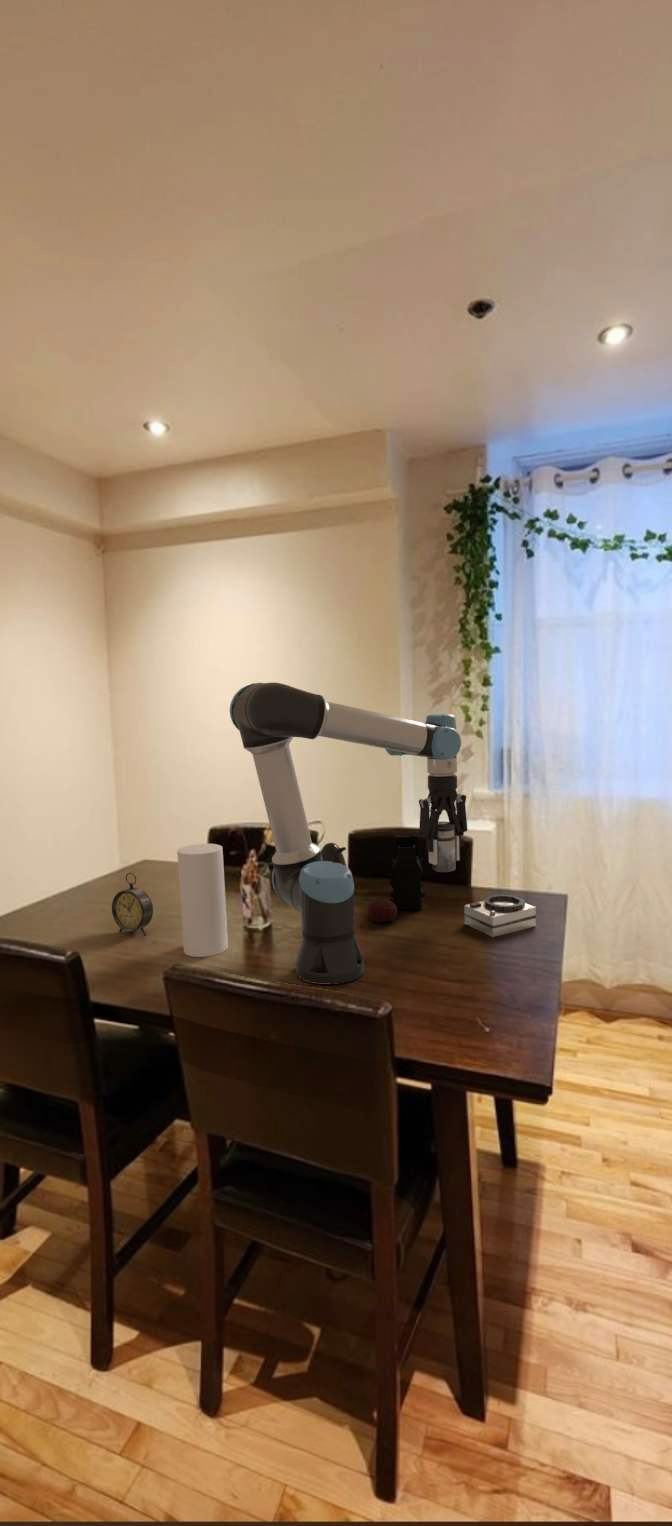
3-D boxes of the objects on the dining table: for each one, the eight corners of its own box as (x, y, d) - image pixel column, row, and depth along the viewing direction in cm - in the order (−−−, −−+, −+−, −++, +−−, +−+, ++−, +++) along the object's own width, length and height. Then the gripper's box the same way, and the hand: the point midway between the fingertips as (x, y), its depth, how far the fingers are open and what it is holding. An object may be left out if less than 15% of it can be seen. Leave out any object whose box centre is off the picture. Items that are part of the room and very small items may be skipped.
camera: (424, 895, 200) (422, 829, 198) (425, 910, 187) (424, 839, 184) (390, 895, 201) (388, 829, 199) (389, 910, 188) (387, 840, 185)
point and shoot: (492, 937, 166) (492, 912, 165) (464, 923, 175) (464, 900, 175) (535, 926, 172) (535, 902, 171) (506, 913, 182) (506, 891, 181)
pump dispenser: (337, 898, 201) (336, 848, 199) (309, 893, 206) (307, 844, 204) (355, 889, 209) (354, 841, 207) (327, 884, 215) (326, 837, 213)
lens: (441, 873, 172) (440, 827, 171) (427, 868, 178) (426, 823, 176) (461, 869, 175) (460, 823, 174) (446, 864, 181) (446, 820, 179)
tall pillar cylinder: (180, 945, 168) (173, 846, 165) (222, 937, 172) (216, 841, 169) (188, 960, 158) (181, 856, 155) (232, 951, 162) (227, 850, 160)
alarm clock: (112, 933, 178) (107, 873, 176) (126, 926, 183) (122, 868, 181) (144, 938, 173) (139, 877, 171) (158, 931, 178) (154, 871, 176)
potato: (376, 928, 174) (376, 906, 174) (362, 919, 182) (361, 897, 181) (401, 923, 177) (401, 901, 177) (386, 914, 185) (386, 893, 184)
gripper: (419, 779, 166) (421, 870, 169) (481, 771, 175) (482, 858, 178) (402, 776, 173) (405, 864, 175) (463, 769, 181) (464, 853, 184)
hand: (444, 861), depth 176 cm, fingers closed on lens, 6 cm apart
